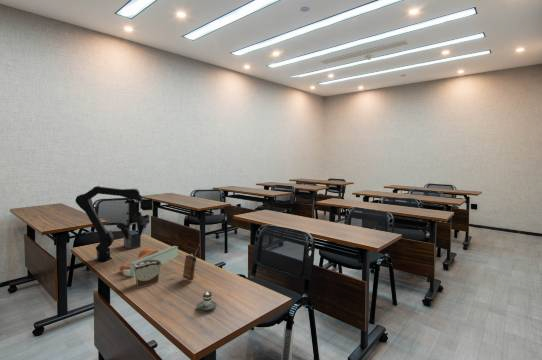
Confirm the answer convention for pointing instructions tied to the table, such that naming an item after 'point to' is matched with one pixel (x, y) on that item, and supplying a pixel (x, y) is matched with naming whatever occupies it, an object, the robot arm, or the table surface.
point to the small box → (132, 240)
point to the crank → (141, 255)
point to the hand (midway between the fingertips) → (133, 237)
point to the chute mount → (155, 258)
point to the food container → (147, 272)
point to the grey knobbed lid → (206, 302)
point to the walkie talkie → (189, 267)
